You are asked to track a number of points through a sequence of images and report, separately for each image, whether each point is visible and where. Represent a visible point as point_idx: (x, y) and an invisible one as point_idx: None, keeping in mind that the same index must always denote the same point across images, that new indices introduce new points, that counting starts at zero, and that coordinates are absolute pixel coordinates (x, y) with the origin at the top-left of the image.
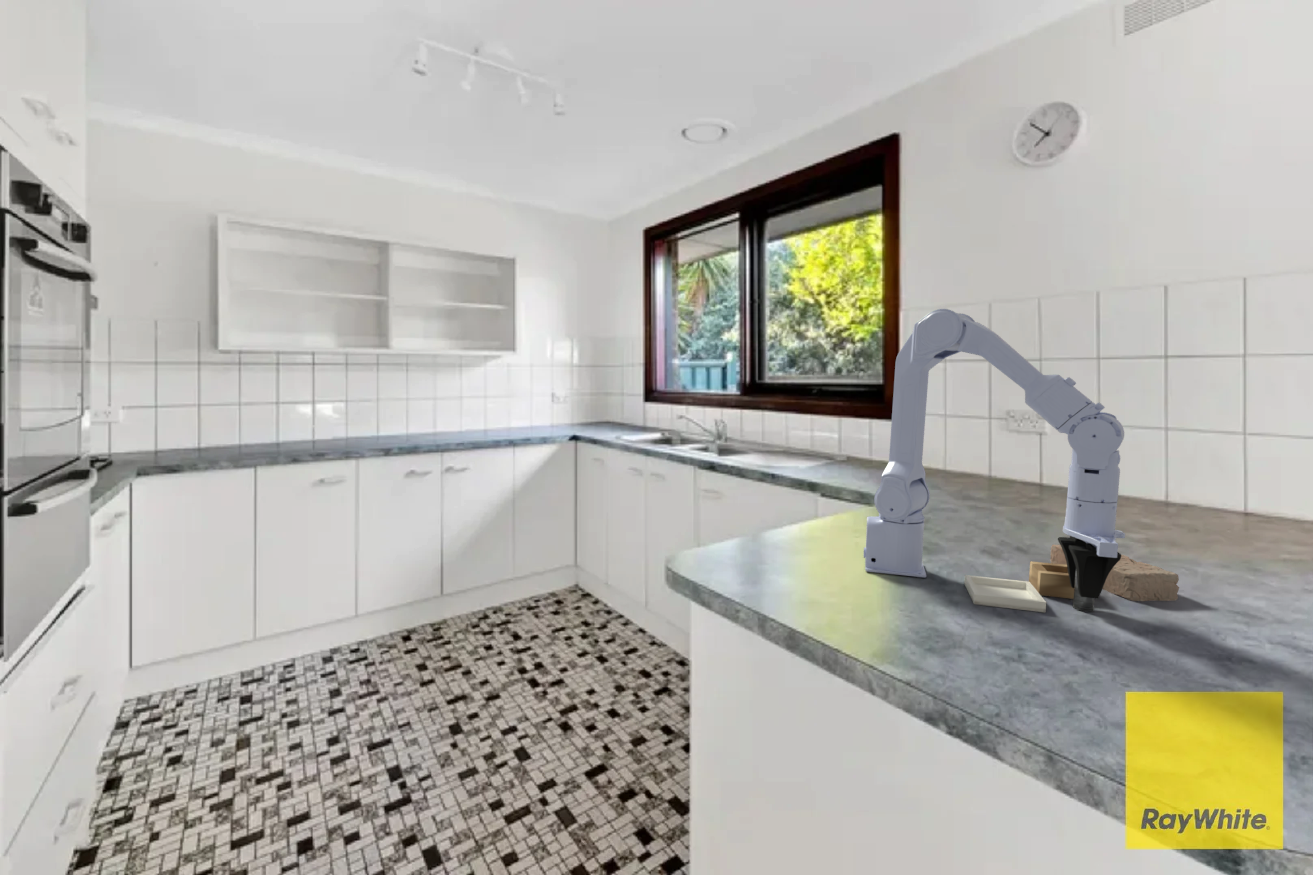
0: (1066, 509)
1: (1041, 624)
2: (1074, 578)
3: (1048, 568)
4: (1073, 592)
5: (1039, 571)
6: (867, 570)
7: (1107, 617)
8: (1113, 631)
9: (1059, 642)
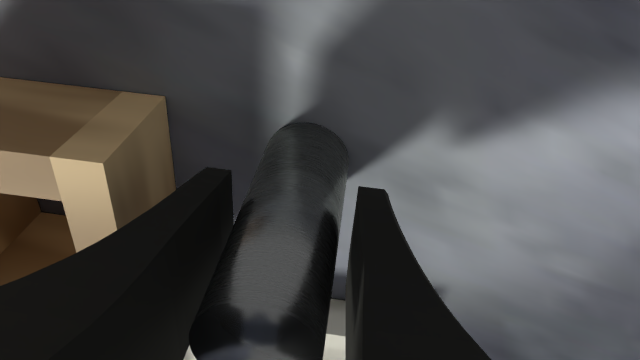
0: None
1: (524, 356)
2: (214, 268)
3: None
4: (158, 164)
5: None
6: None
7: (404, 100)
8: (593, 158)
9: None
